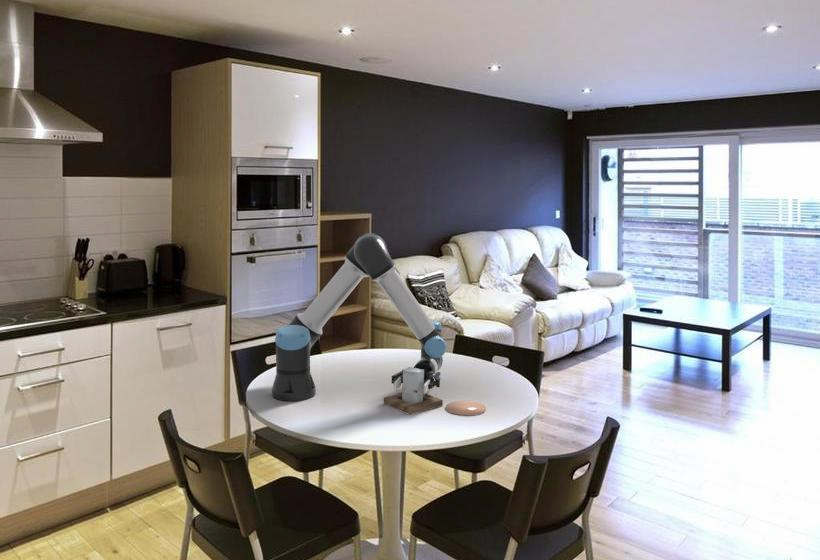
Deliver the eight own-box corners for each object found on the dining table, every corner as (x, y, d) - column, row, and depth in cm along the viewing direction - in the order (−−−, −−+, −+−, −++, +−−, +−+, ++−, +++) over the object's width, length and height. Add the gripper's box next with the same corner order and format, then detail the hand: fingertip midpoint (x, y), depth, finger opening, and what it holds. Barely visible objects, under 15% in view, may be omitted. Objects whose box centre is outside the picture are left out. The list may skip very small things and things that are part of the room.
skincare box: (401, 405, 220) (401, 369, 218) (408, 401, 223) (408, 366, 222) (417, 408, 217) (417, 372, 215) (424, 404, 220) (424, 369, 219)
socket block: (383, 403, 221) (383, 397, 221) (415, 395, 230) (415, 389, 229) (409, 414, 210) (409, 408, 210) (442, 405, 219) (442, 399, 219)
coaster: (437, 407, 217) (437, 405, 217) (466, 399, 225) (466, 398, 225) (465, 418, 207) (465, 416, 207) (494, 409, 215) (494, 408, 215)
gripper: (455, 382, 234) (442, 402, 213) (395, 377, 240) (377, 396, 218) (455, 361, 233) (443, 379, 212) (395, 357, 238) (377, 374, 217)
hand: (409, 388), depth 215 cm, fingers open, 9 cm apart
